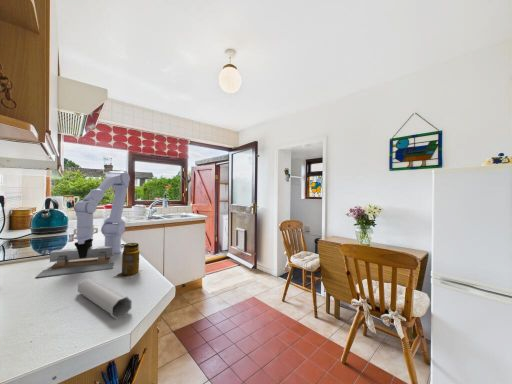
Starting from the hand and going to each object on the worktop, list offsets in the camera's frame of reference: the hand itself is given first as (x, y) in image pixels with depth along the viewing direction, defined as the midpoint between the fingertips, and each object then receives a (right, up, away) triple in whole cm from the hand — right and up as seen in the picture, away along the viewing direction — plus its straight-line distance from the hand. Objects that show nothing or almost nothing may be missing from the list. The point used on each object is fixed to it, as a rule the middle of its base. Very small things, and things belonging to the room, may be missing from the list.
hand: (83, 256), depth 97 cm
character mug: (-19, -3, +25) cm, 31 cm away
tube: (+32, -4, -33) cm, 46 cm away
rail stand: (0, -3, 0) cm, 3 cm away
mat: (+5, -3, -8) cm, 10 cm away
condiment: (+27, -4, -11) cm, 29 cm away
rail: (0, -1, 0) cm, 0 cm away
